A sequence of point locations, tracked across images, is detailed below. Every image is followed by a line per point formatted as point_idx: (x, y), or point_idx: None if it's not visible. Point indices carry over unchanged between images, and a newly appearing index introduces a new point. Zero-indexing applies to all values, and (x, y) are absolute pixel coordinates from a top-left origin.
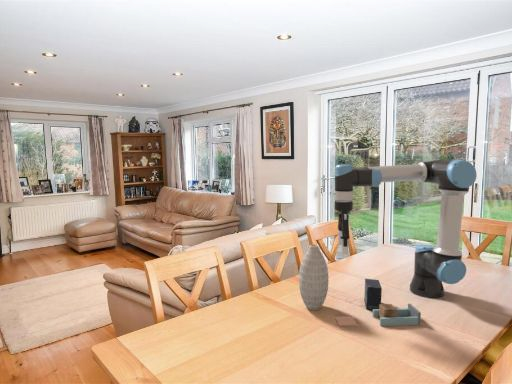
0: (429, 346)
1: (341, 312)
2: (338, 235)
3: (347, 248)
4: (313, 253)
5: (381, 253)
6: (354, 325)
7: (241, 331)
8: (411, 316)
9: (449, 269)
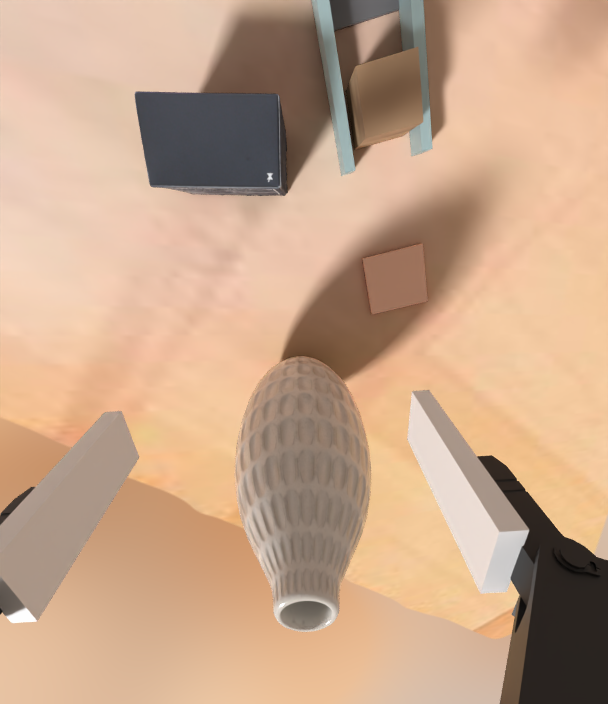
0: None
1: (324, 291)
2: (79, 553)
3: (451, 432)
4: (348, 565)
5: None
6: (422, 254)
7: None
8: None
9: None
